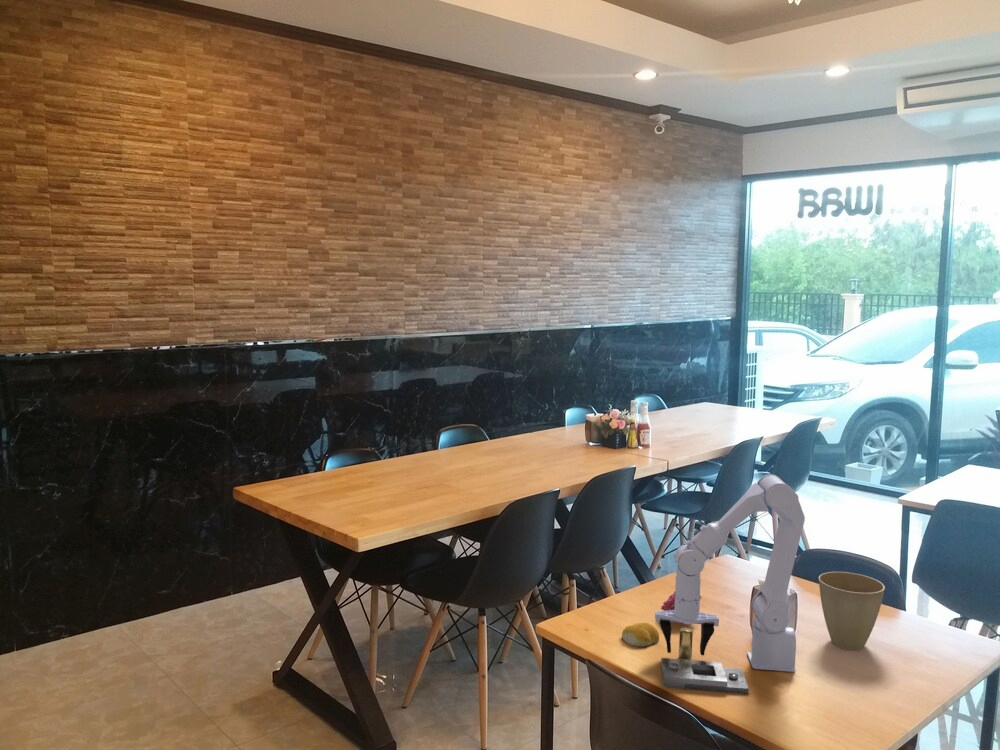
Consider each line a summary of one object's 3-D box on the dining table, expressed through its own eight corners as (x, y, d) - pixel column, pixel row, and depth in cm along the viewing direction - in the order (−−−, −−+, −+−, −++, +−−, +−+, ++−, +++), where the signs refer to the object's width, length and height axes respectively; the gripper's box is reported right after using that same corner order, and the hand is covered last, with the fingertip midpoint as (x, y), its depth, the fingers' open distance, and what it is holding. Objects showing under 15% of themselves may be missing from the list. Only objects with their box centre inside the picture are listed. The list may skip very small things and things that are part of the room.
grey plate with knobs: (741, 673, 175) (741, 661, 174) (748, 694, 166) (749, 680, 165) (660, 667, 177) (661, 655, 177) (663, 687, 168) (664, 674, 168)
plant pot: (894, 653, 186) (899, 589, 184) (845, 661, 182) (849, 596, 180) (849, 627, 200) (853, 568, 199) (802, 634, 196) (805, 574, 194)
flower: (656, 629, 205) (651, 591, 210) (690, 629, 207) (684, 592, 212) (673, 620, 196) (667, 581, 201) (709, 620, 198) (702, 581, 203)
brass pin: (690, 656, 183) (692, 628, 182) (692, 662, 180) (693, 633, 179) (678, 655, 183) (679, 627, 183) (679, 661, 180) (680, 632, 180)
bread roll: (665, 641, 191) (665, 625, 191) (639, 650, 186) (640, 634, 186) (641, 629, 198) (641, 614, 198) (615, 637, 193) (616, 622, 193)
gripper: (657, 601, 177) (655, 657, 179) (721, 605, 175) (719, 662, 177) (655, 589, 184) (653, 644, 185) (717, 593, 182) (715, 648, 184)
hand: (685, 652), depth 181 cm, fingers open, 7 cm apart
